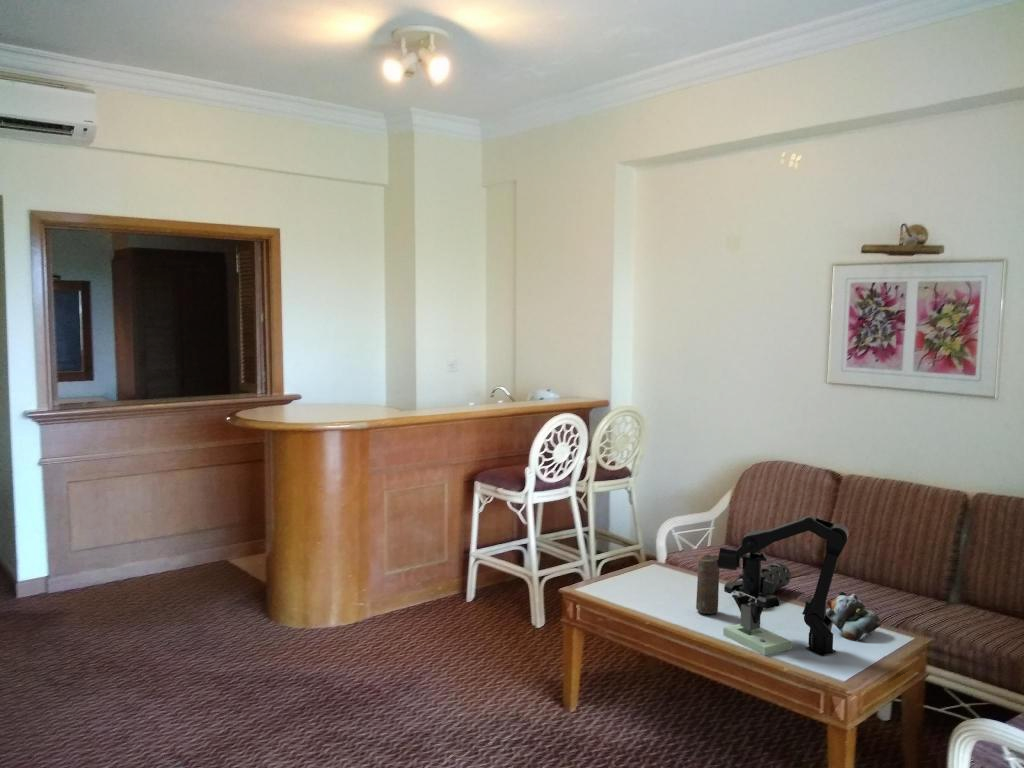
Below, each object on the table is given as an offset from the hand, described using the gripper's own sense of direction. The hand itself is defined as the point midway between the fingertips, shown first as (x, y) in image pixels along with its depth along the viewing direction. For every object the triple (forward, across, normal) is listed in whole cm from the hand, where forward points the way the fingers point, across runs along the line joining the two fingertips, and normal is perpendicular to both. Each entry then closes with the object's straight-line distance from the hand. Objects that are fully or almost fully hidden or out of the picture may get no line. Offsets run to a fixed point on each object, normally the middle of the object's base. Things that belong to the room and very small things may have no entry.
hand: (750, 620), depth 253 cm
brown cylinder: (+6, +24, -4) cm, 25 cm away
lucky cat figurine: (+6, -11, -33) cm, 36 cm away
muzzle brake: (+6, +28, -32) cm, 43 cm away
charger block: (+2, 0, 0) cm, 2 cm away
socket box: (+6, -3, 0) cm, 6 cm away
